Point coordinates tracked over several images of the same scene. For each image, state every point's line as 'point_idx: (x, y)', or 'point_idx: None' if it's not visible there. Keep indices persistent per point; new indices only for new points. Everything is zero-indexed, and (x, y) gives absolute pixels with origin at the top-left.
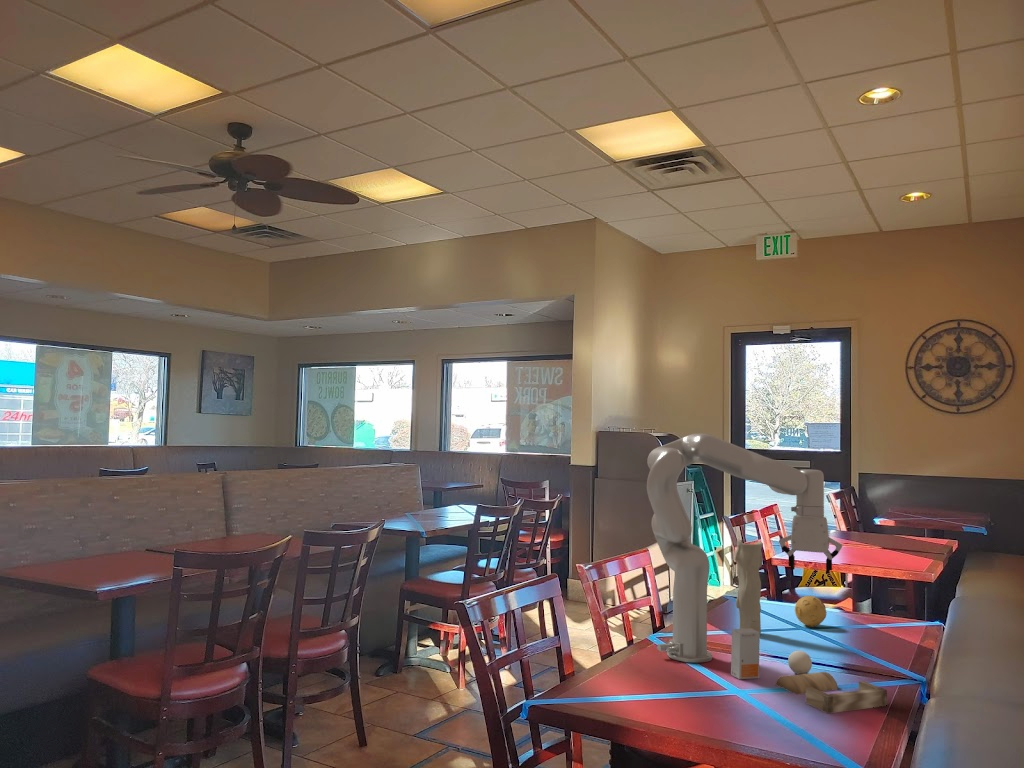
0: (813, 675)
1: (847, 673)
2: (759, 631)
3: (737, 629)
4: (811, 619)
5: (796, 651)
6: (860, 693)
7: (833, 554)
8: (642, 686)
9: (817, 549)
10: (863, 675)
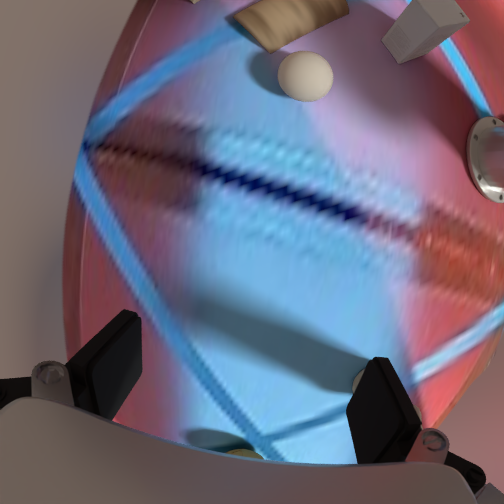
0: (279, 1)
1: (197, 126)
2: (358, 379)
3: (460, 18)
4: (242, 452)
5: (316, 64)
6: None
7: (18, 391)
8: (497, 12)
9: (109, 448)
10: (167, 126)
